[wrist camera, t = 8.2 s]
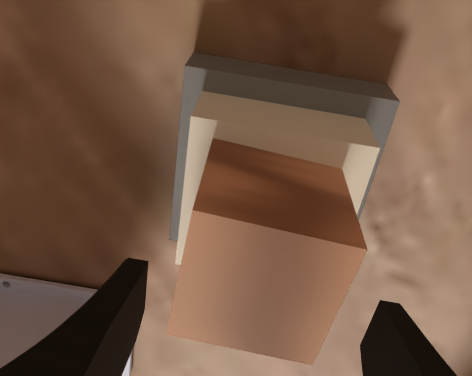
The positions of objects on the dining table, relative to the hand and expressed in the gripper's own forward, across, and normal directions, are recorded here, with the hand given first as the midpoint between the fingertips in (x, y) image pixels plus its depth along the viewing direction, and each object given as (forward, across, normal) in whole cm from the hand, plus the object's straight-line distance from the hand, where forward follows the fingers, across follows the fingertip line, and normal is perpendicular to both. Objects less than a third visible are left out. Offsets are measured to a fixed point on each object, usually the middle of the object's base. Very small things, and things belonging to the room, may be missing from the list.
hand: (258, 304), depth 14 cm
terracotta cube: (+5, 0, 0) cm, 5 cm away
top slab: (+8, 0, 0) cm, 8 cm away
